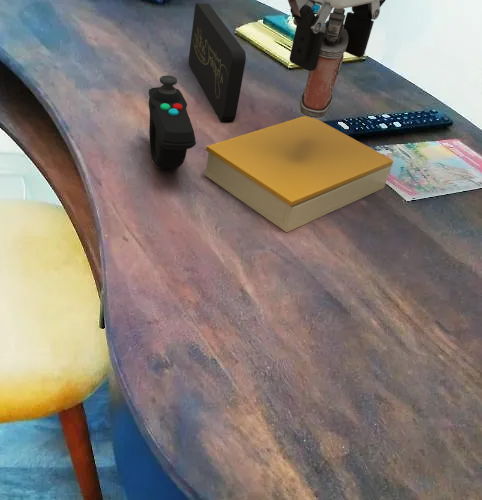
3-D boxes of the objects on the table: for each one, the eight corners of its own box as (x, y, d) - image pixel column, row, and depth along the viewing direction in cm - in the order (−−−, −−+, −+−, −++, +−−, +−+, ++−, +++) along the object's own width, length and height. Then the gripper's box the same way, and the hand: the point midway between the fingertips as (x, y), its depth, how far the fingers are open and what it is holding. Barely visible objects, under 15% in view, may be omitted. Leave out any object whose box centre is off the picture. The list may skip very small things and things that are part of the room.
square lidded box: (286, 232, 71) (293, 207, 69) (204, 175, 79) (208, 151, 77) (384, 188, 80) (392, 164, 78) (301, 140, 88) (307, 118, 86)
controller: (173, 142, 85) (182, 69, 79) (192, 194, 75) (203, 116, 69) (141, 142, 84) (147, 68, 78) (156, 194, 75) (163, 116, 68)
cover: (290, 206, 68) (291, 201, 68) (205, 150, 76) (206, 145, 76) (392, 164, 78) (394, 160, 77) (307, 118, 86) (308, 114, 85)
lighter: (326, 121, 69) (352, 28, 63) (295, 114, 70) (317, 22, 64) (334, 92, 75) (357, 5, 69) (305, 86, 76) (326, -1, 70)
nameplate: (234, 123, 90) (246, 53, 84) (221, 123, 90) (233, 53, 84) (199, 63, 106) (207, 1, 100) (188, 63, 106) (195, 1, 100)
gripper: (346, -118, 52) (298, 88, 63) (464, -125, 61) (403, 57, 72) (278, -134, 56) (244, 61, 67) (397, -138, 65) (350, 35, 76)
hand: (327, 58), depth 69 cm, fingers closed on lighter, 7 cm apart
